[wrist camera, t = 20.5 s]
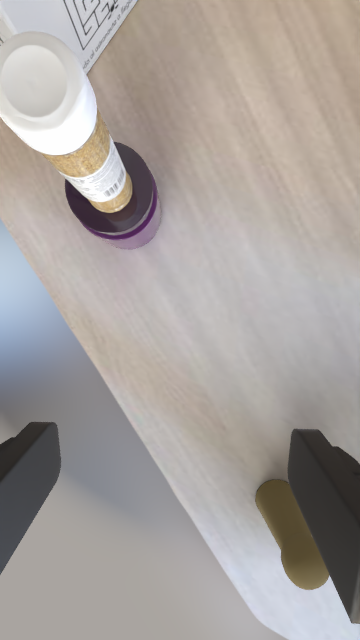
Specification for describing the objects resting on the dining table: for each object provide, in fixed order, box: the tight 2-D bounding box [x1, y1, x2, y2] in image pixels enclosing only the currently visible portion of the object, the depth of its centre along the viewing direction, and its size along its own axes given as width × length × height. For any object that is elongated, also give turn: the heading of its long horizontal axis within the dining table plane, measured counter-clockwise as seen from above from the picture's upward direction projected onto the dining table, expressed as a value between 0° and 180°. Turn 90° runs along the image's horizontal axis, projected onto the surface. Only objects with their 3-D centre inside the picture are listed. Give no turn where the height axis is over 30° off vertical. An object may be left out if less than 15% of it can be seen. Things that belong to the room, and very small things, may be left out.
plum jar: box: [65, 142, 161, 249], centre depth 30 cm, size 9×9×9 cm
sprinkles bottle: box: [0, 31, 132, 213], centre depth 19 cm, size 5×5×13 cm
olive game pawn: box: [255, 480, 330, 590], centre depth 34 cm, size 6×6×11 cm
